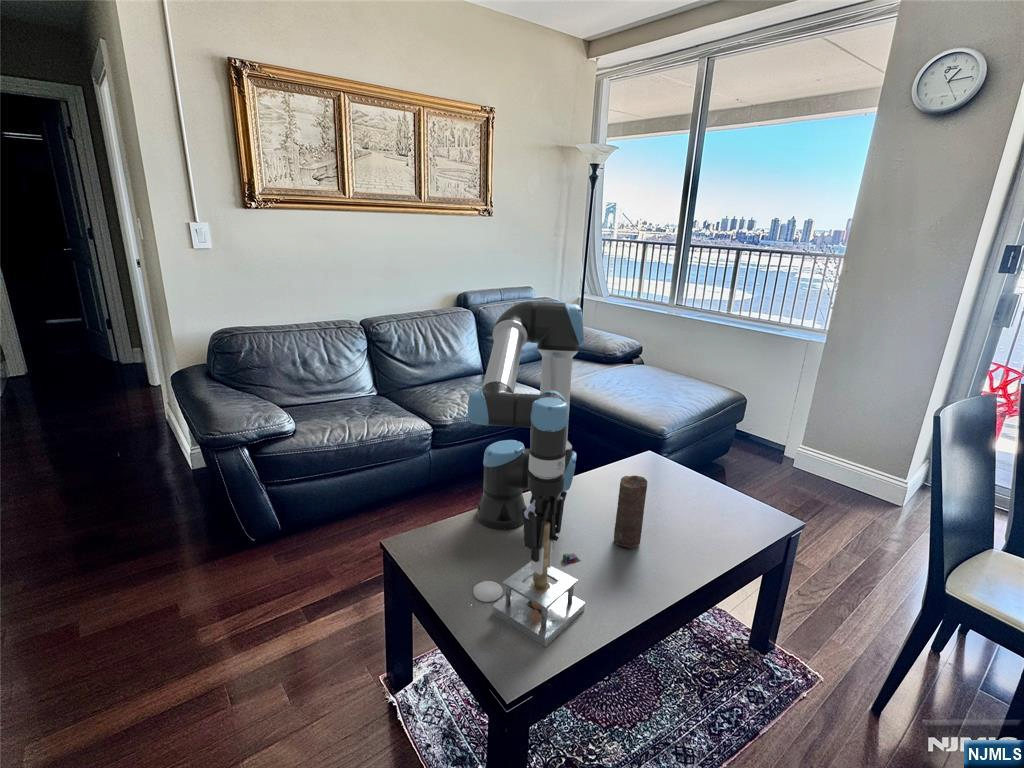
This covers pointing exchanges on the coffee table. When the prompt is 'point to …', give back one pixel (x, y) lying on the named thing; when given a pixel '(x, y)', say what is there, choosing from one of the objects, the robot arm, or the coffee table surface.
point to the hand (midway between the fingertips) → (541, 568)
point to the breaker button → (536, 606)
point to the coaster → (488, 591)
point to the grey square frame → (539, 604)
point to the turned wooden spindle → (541, 580)
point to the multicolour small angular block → (570, 558)
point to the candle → (630, 511)
